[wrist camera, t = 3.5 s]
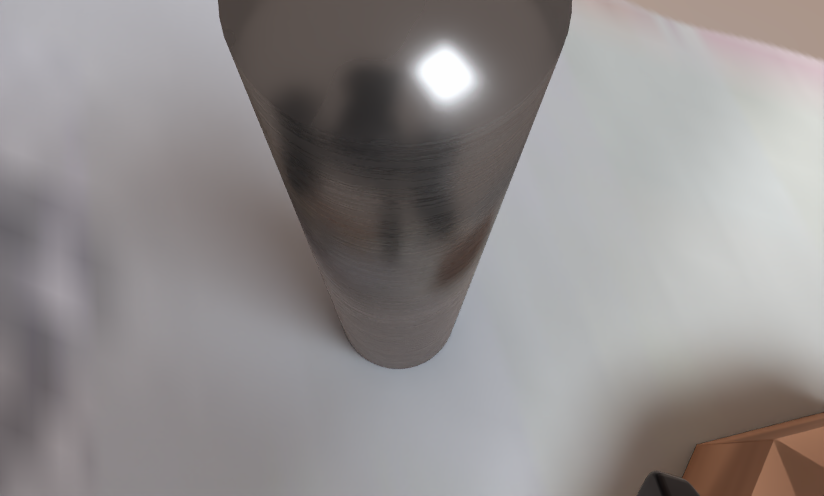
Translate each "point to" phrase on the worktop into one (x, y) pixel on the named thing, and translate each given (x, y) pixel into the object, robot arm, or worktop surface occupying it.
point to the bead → (762, 461)
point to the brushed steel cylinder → (396, 143)
